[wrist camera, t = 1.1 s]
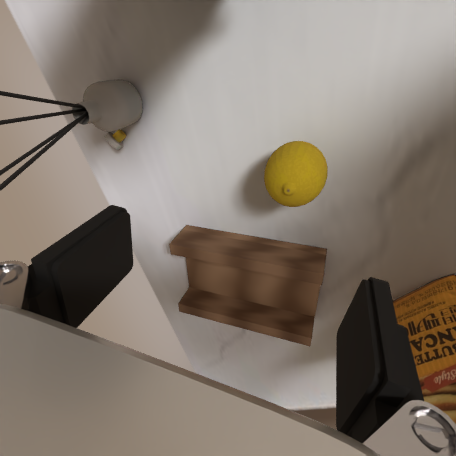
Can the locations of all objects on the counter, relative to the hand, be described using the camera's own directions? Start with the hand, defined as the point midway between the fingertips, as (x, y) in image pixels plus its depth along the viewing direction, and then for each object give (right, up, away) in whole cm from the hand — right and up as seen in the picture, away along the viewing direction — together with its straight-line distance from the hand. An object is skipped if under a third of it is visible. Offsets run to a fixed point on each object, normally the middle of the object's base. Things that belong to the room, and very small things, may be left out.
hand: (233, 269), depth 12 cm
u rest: (+3, -4, +28) cm, 29 cm away
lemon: (+7, +9, +19) cm, 22 cm away
